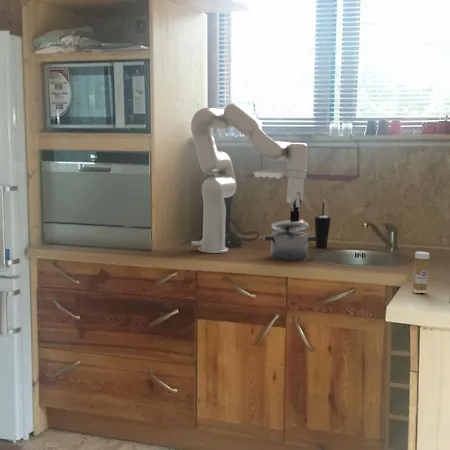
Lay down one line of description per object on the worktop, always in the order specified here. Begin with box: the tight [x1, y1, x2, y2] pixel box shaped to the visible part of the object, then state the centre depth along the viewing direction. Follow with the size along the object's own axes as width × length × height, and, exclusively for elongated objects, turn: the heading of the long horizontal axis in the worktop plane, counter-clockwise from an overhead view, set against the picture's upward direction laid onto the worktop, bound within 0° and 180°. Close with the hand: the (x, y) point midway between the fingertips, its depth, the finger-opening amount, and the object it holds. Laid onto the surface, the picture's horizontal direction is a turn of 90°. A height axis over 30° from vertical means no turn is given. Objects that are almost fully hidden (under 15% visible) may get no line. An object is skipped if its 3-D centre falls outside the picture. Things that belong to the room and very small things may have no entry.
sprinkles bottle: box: [412, 251, 431, 291], centre depth 229 cm, size 5×5×13 cm
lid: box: [271, 218, 310, 231], centre depth 287 cm, size 15×15×3 cm
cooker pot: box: [263, 230, 316, 262], centre depth 288 cm, size 21×16×10 cm
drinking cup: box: [313, 202, 332, 249], centre depth 316 cm, size 8×8×20 cm
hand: (294, 221), depth 277 cm, fingers closed
